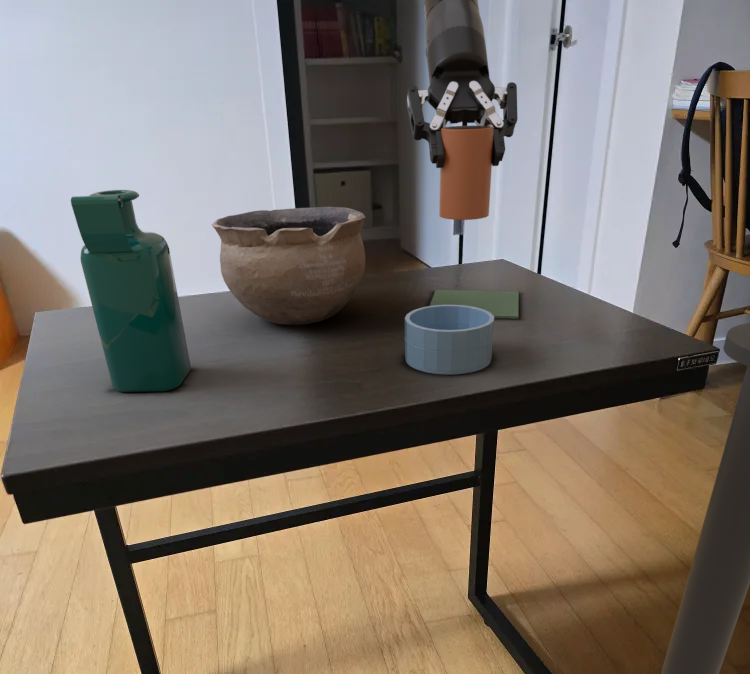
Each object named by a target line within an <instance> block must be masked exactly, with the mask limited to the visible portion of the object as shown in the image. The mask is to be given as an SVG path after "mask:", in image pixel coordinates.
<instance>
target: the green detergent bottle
mask: <svg viewBox="0 0 750 674" xmlns="http://www.w3.org/2000/svg"><path fill="white" fill-rule="evenodd" d="M139 197H140V194H139V192H137V191H136V190H132V189H111V190H109V189H108V190H102V191H95V192H93V193H91V194H88V195H78V196H77V195H76V196H74V195H73V196H71V197H70V205H71V207H72V211H73V215H74V218H75V222H76V224H77V228H78V231H79V234H80V237H81V240H82V242H83V244H84V245H83V246H82V247H81V250H80V258H79V259H80V265H81V268H82V272H83V276H84V279H85V280H84V281H85V283H86V287H87V292H88V295H89V299H90V304H91V307H92V311H93V315H94V318H95V322H96V326H97V330H98V334H99V339H100V341H101V346H102V350H103V354H104V358H105V363H106V367H107V370H108V374H109V378H110V381H111V385H112V387H113V389H115V390H116V391H118V392H121V393H139V392H140V393H143V392H145V393H146V392H167V391H168V392H169V391H172V390H174V389H177V388H179V387H180V386H181V385H182V383H183V382H184V381H185V379H186V377H187V376H188V374H189V373H190V371H191V369H192V366H191V360H190V355H189V349H188V344H187V338H186V333H185V328H184V323H183V317H182V310H181V306H180V300H179V296H178V295H179V294H178V289H177V285H176V283H177V282H176V279H175V274H174V267H173V262H172V257H171V252H170V251H171V250H170V246H169V244H168V242H167V240H166V239H165V237H163V235H162V234H159V233H156V232H153V231H143V230H142V229H141V228H140V227H139V225H138V223H137V219H136V215H135V214H136V213H135V210H134V205H133V201H135V200H137V199H138V198H139Z"/></svg>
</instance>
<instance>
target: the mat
mask: <svg viewBox="0 0 750 674" xmlns="http://www.w3.org/2000/svg"><path fill="white" fill-rule="evenodd" d="M519 292H520V291H518V290H517V291H515V290H468V289H467V290H465V289H464V290H463V289H460V290H459V289H435V291H434V293H433V295H432V298H431V301H430V303H429V306H434V305H465V306H473V307H477V308H481V309H484V310H486V311H488V312H490V313H491V314H492V315H493V316H494V319H509V320H511V319H512V320H518V319H519V315H520V313H519V311H520V309H519V306H520V305H519V301H520V298H519V297H520V294H519Z"/></svg>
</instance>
